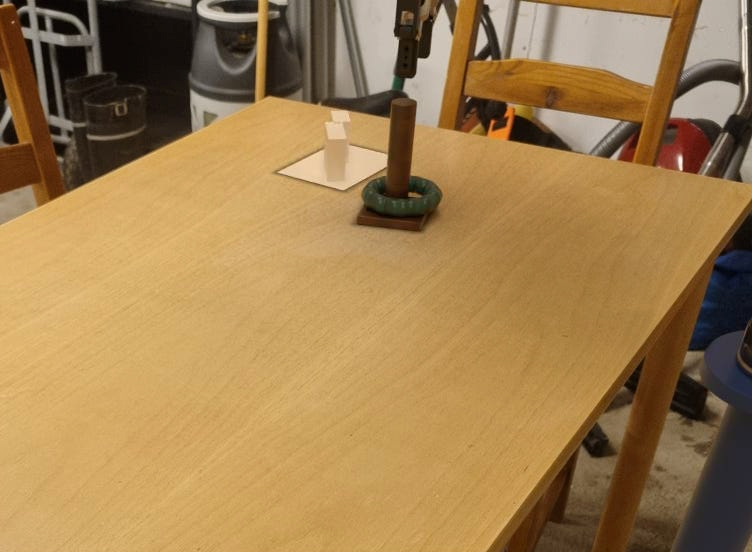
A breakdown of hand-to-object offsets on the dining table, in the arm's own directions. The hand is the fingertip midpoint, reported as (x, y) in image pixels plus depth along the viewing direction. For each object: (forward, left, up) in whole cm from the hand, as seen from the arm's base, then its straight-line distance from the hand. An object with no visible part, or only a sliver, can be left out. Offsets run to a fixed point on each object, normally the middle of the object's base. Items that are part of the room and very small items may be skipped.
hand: (413, 67), depth 110 cm
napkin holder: (+11, -11, -16) cm, 22 cm away
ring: (0, +3, -14) cm, 14 cm away
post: (0, +4, -16) cm, 16 cm away
